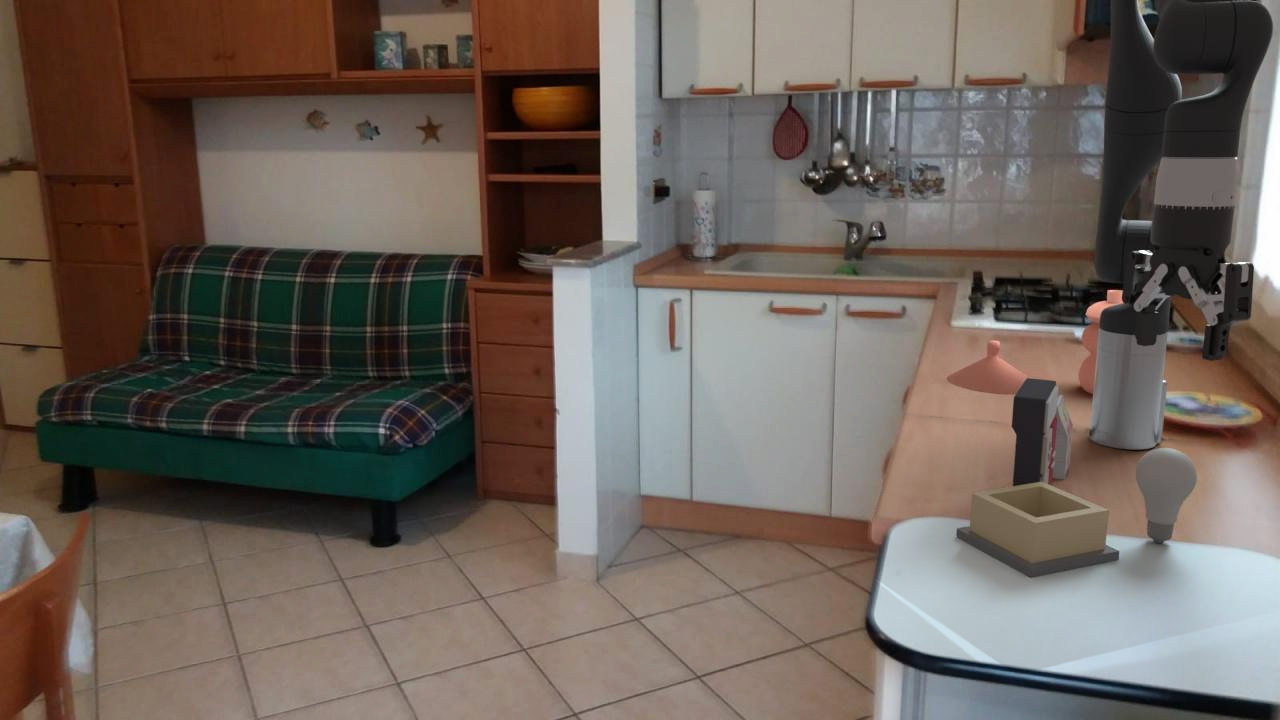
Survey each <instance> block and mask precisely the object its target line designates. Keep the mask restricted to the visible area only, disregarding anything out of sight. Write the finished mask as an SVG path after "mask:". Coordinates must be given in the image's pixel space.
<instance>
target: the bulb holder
mask: <svg viewBox="0 0 1280 720" xmlns="http://www.w3.org/2000/svg"><path fill="white" fill-rule="evenodd" d="M970 505H971V507H970V519H969V520H970V521H969V525H968V526H963V527H957V528H956V533H955V534H956V536H957V537H956V538H958V537H959V538H958V539H959V540H961V539H962V541H964V542H965V543H967V544H969V545H971V546H973V547H974V548H976V549H978V550H979V551H982V552H983V553H985V554H987V555H989V556H991V557H992V558H994V559H996V560H998V561H1000V562H1002V563H1003V564H1005V565H1007V566H1009V567H1010V568H1013V569H1015V570H1017V571H1018V572H1020V573H1021V574H1024V575H1025V576H1027V577H1029V578H1034V577H1039V576H1040V577H1041V576H1044V575H1049V574H1054V573H1059V572H1064V571H1068V570H1074V569H1075V570H1076V569H1078V568H1084V567H1089V566H1093V565H1099V564H1103V563H1104V564H1105V563H1109V562H1113V561H1119V560H1120V559H1119V558H1120V550H1118V549H1116V548H1114V547H1111V546H1109V545H1107V544H1106V542H1107V533H1108V531H1107V530H1108V522H1109V515H1110V514H1109V513H1110V510H1109V509H1107V508H1105V507H1103V506H1101V505H1098V504H1096V503H1093V502H1091V501H1089V500H1086V499H1084V498H1082V497H1079V496H1077V495H1075V494H1072V493H1071V492H1070V493H1069V492H1068V491H1066V490H1063V489H1060V488H1059V487H1055V486H1053V485H1052V486H1051V485H1049V484H1046V483H1044V482H1037V483H1030V484H1024V485H1018V486H1013V485H1012V486H1006V487H1000V488H994V489H988V490H982V491H975V492H972V493H971V503H970Z"/></svg>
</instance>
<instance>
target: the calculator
mask: <svg viewBox="0 0 1280 720" xmlns="http://www.w3.org/2000/svg"><path fill="white" fill-rule="evenodd" d="M1058 395H1059V385H1058V384H1057V382H1056V380H1049V379H1041V378H1040V379H1038V378H1030V377H1029V378H1027V379H1026V380H1025V381H1024V383H1023V384H1022V386H1021V387H1020V389H1019V390H1018V392H1017V393H1016V395H1014V396H1013V403H1012V404H1013V405H1012V414H1011V415H1012V417H1011V418H1012V419H1011V428H1012V430H1013V431H1014V433H1015V435H1016V437H1015V449H1014V461H1013V462H1014V464H1013V476H1012V486H1018V485H1024V484H1030V483H1037V482H1044V483H1046V484H1049V485H1051V486H1053V479H1054V478H1053V467H1054V464H1055V461H1054V456H1055V454H1056V451H1055V443H1056V431H1057V417H1055V415H1056V410H1057V399H1058V397H1059V396H1058Z"/></svg>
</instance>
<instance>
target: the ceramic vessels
mask: <svg viewBox="0 0 1280 720" xmlns="http://www.w3.org/2000/svg"><path fill="white" fill-rule="evenodd" d="M1122 292H1123V289H1122V290H1119V289H1110V290H1109V289H1107V295H1106V300H1102V301H1098V302H1095V303H1093V304H1092V305H1090V306H1089V307H1088V308H1087V309H1086V313H1085V316H1086V317H1087V319H1088V321H1090V322H1091V324H1088V325H1087V326H1086V327H1085V329H1083V331H1082V334H1081V342H1082V344H1083V346H1084V348H1085V349H1086V350H1087V351H1088V352H1089V353H1090V354H1089V355H1088V356H1087V357H1086V358H1085V359H1084V360H1083V361H1082V363H1081V365H1080V367H1079V369H1078V382H1079V384H1080V386H1081V387H1082V389H1083V391H1085V392H1087V393H1088V394H1091V395H1093V391H1094V380H1095V369H1096V358H1097V348H1098V347H1097V346H1098V335H1099V324H1100V315H1101V312H1102V311H1103V310H1104V309H1105V308H1107V307H1110V306H1113V305H1118V304H1122V303H1123V301H1122ZM986 345H987V347H986V352H987V353H986V356H985V357H983V358H982V359H980V360H977V361H976V362H974V363H971V364H970V365H968V366H965V367H963V368H962V369H961V368H960V370H959V369H958V371H956V372H953V373H951V374H949V375H948V376H947V377H946V380H947V381H948V382H949V384H952V385H954V386H956V387H959V388H962V389H966V390H969V391H974V392H978V393H986V394H992V395H995V394H996V395H1012V396H1013V395H1014V396H1015V395H1016V393H1017V392H1018V390H1019V389H1020V387H1021V386H1022V384H1023V383H1024V381H1025V380H1026V379H1027V378H1030V377H1029V376H1028V375H1026V374H1024V372H1021V371H1020V370H1018V369H1017V368H1015V367H1014V366H1012V365H1011V364H1009V363H1008V362H1006V361H1005V360H1003V359H1002V358H1000V357H999V356H1000V349H1001V343H1000V341H998V340H988V341H987V344H986Z"/></svg>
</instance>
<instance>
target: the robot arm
mask: <svg viewBox="0 0 1280 720" xmlns="http://www.w3.org/2000/svg"><path fill="white" fill-rule="evenodd" d="M1154 7H1155V10H1156V11H1155V12H1156V14H1157V16H1158V19H1159V21H1158V23H1157V27H1156V30H1155V34H1154V37H1153V36H1152V34H1151V32H1150V30H1149V28H1148V26H1147V23H1145V20H1144V18H1143V15H1142V13H1141V12H1142V11H1141V10H1140V9H1141V8H1140V4H1139V0H1110V45H1109V46H1110V47H1109V56H1108V71H1107V81H1106V92H1105V103H1104V122H1103V123H1104V124H1103V126H1104V127H1103V167H1102V169H1103V172H1102V185H1101V186H1102V187H1101V196H1100V204H1099V205H1100V206H1099V213H1098V221H1097V222H1098V223H1097V230H1096V239H1095V246H1094V247H1095V248H1094V249H1095V250H1094V268H1095V274H1096V276H1097V278H1098V279H1099V280H1100V281H1101V282H1106V283H1113V284H1114V283H1115V284H1123V286H1122V291H1123V292H1122V301H1123V303H1122V304H1118V305H1113V306H1110V307H1107V308H1105V309H1104V310H1103V311H1102V312H1101V315H1100V324H1099V335H1098V346H1097V347H1098V348H1097V358H1096V369H1095V380H1094V391H1093V394H1092V404H1091V415H1090V423H1089V424H1090V426H1089V439H1090V441H1092V442H1094V443H1096V444H1098V445H1101V446H1105V447H1108V448H1115V449H1122V450H1123V449H1124V450H1148V449H1151V448H1154V447H1156V445H1157V444H1161V443H1162V438H1163V429H1164V420H1165V410H1166V400H1167V399H1166V398H1167V391H1168V382H1167V380H1164V374H1165V364H1166V354H1167V345H1168V344H1167V343H1168V334H1169V325H1170V323H1169V322H1170V313H1171V302H1172V297H1174V296H1178V297H1180V298H1183V299H1187V300H1192V301H1193V303H1194V306H1196V307H1197V308H1199V309H1201V312H1202V314H1203V316H1204V318H1205V320H1206V321H1207V324H1205V329H1204V337H1203V345H1202V360H1205V361H1209V362H1213V361H1220V360H1222V359H1223V357H1224V356H1225V355H1226V354H1227V352H1228V349H1229V348H1228V347H1229V346H1228V345H1229V339H1230V338H1229V337H1230V329H1231V326H1232V325H1233V324H1234V323H1239V322H1245V321H1249V320H1250V319H1251V317H1252V303H1253V287H1254V276H1255V275H1254V274H1255V273H1254V272H1255V266H1254V263H1252V262H1251V261H1250V262H1249V261H1245V262H1231V263H1230V262H1227V260H1226V255H1225V254H1226V250H1227V248H1228V247H1229V246H1230V244H1231V239H1232V230H1233V225H1234V223H1233V222H1234V213H1235V206H1236V196H1237V188H1238V158H1237V157H1238V156H1239V155H1238V154H1239V149H1240V148H1239V146H1240V140H1241V139H1240V136H1241V130H1242V129H1241V128H1242V121H1243V117H1244V112H1245V109H1246V105H1247V102H1248V99H1249V96H1250V93H1251V90H1252V87H1253V85H1254V83H1255V80H1256V78H1257V76H1258V73H1259V71H1260V69H1261V67H1262V64H1263V62H1264V60H1265V57H1266V56H1267V52H1268V50H1269V48H1270V44H1271V43H1272V38H1273V35H1274V34H1273V33H1274V22H1273V17H1272V14H1271V12H1270V10H1269V9H1268V8H1267V6H1266V5H1264V4H1263V3H1262V2H1260V1H1256V0H1154ZM1206 74H1207V75H1209V74H1210V75H1211V74H1213V75H1214V74H1217V75H1219V74H1223V77H1222V79H1221V82H1220V83H1219V84H1218V86H1217V87H1216V88H1215V89H1213V91H1212V92H1210V93H1208V94H1204V95H1199V96H1194V97H1190V98H1184V99H1182V93H1183V91H1182V89H1183V87H1182V85H1181V81H1180V78H1179V76H1178V75H1206ZM1159 162H1160V163H1159ZM1158 164H1159V167H1158V171H1157V176H1156V179H1155V180H1156V182H1155V191H1154V201H1153V209H1152V210H1153V211H1152V218H1151V219H1152V220H1138V219H1137V220H1132V219H1131V220H1130V219H1127V220H1126V219H1123V215H1124V212H1125V210H1126V207H1127V206H1128V204H1129V202H1130V200H1131V198H1132V197H1133V195H1134V194H1135V192H1136V191H1137V189H1138V187H1139V186H1140V185H1141V183H1142V182H1143V181H1144V180H1145V179H1146V177H1147V176H1148V175H1149V174H1150V173H1151V172H1152V170H1153V169H1154V168H1155V167H1156V166H1157V165H1158ZM1221 280H1222V281H1223V282H1224V283H1225V284H1224V286H1223V284H1222V283H1221ZM1209 293H1210V295H1209Z"/></svg>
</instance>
